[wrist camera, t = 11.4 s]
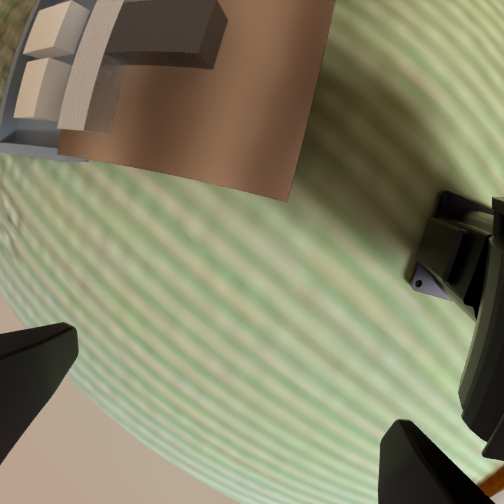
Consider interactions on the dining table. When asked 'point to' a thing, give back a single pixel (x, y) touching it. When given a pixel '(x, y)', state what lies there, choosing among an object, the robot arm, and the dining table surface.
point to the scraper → (135, 52)
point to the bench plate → (223, 104)
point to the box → (3, 124)
